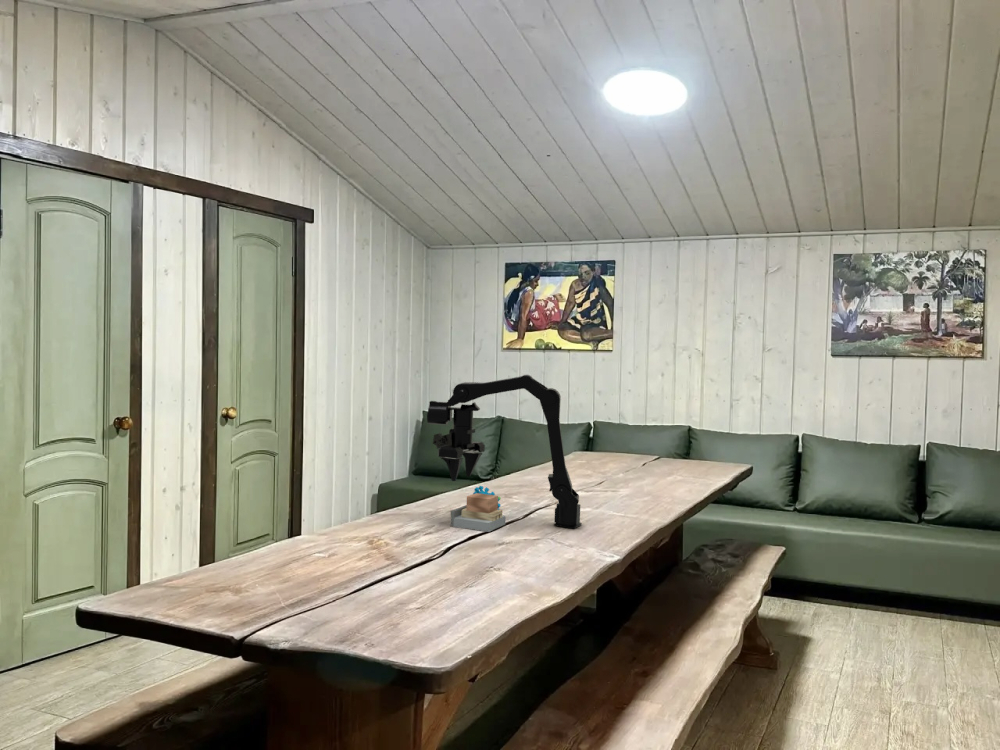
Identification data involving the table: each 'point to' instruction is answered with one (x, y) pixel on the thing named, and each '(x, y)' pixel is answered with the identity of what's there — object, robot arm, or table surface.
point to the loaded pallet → (482, 515)
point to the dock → (474, 521)
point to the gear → (485, 492)
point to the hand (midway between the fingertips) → (461, 478)
